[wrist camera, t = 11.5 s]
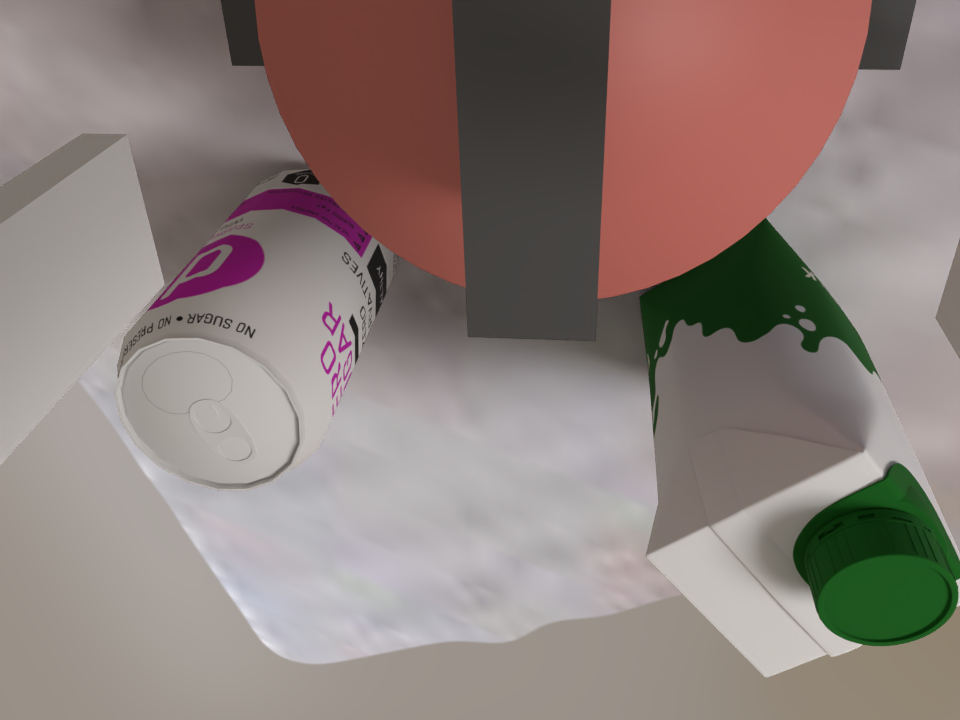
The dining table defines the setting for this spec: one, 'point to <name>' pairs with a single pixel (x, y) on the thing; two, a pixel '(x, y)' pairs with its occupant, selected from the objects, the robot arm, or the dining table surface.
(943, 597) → the milk carton
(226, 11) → the pot
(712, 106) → the lid
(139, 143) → the dining table surface
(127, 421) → the supplement can
